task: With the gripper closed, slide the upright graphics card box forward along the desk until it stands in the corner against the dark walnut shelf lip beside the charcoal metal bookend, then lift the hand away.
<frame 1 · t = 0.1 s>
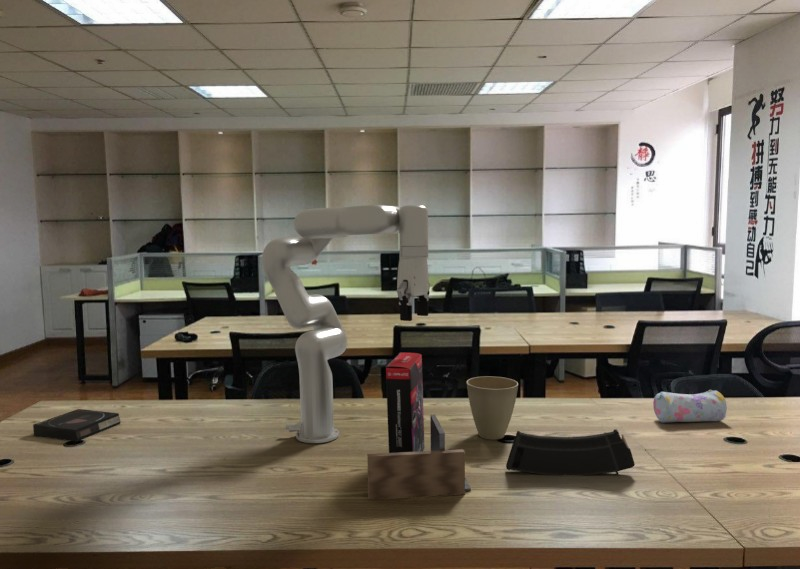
hand: (414, 318, 157), 37 cm above the table, tool pointing down, fingers open, 9 cm apart
shelf lip: (416, 495, 136), on the table
plant pot: (492, 436, 175), on the table
bookend: (437, 480, 144), on the table
magazine: (569, 474, 147), on the table
portable cd player: (78, 432, 185), on the table
pencil case: (689, 421, 186), on the table
graphics card box: (406, 461, 156), on the table
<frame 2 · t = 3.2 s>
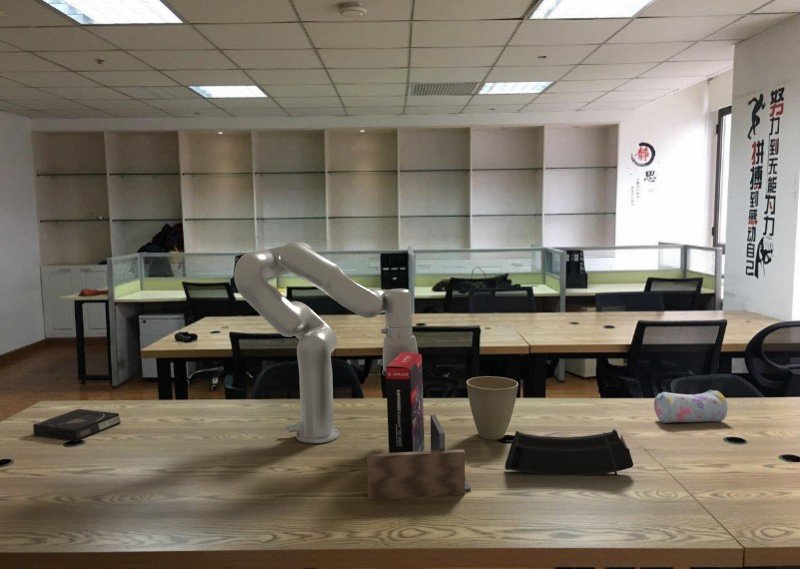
hand: (401, 394, 173), 13 cm above the table, tool pointing down, fingers closed
nothing on the table moved.
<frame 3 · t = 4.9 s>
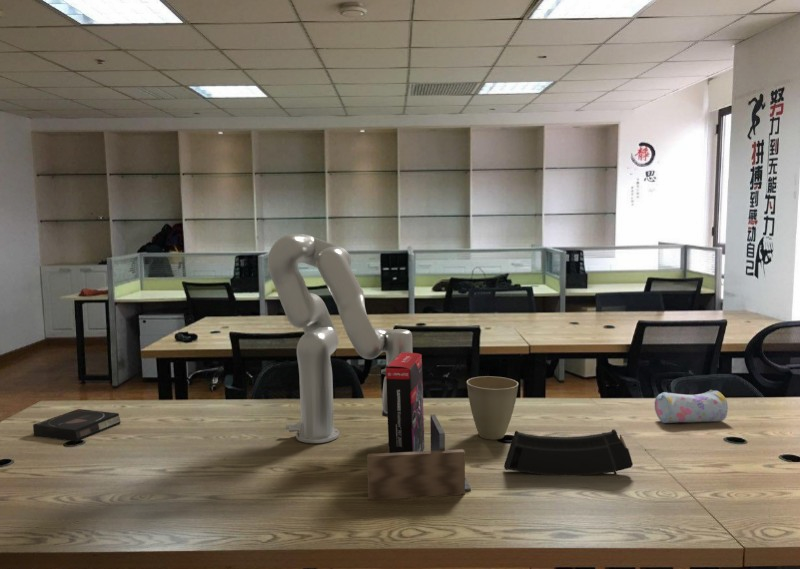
hand: (400, 434, 172), 1 cm above the table, tool pointing down, fingers closed
nothing on the table moved.
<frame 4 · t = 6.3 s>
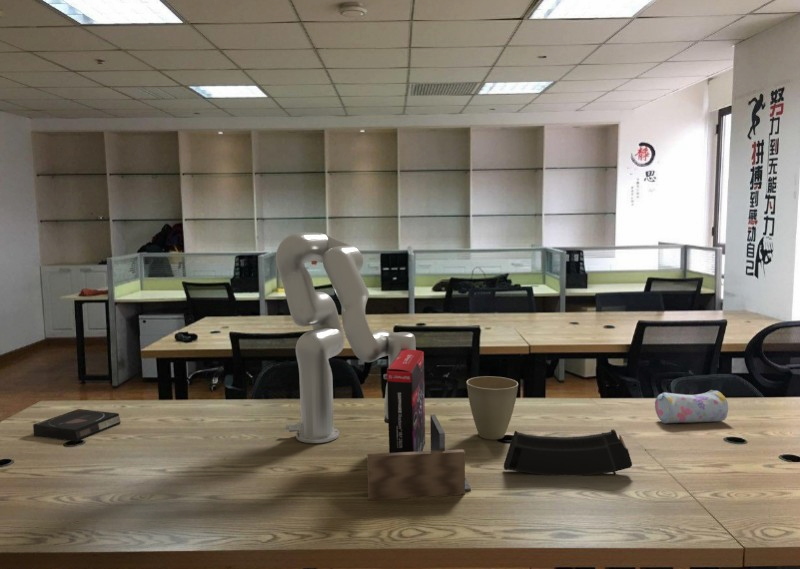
hand: (403, 442, 166), 2 cm above the table, tool pointing down, fingers closed
graphics card box: (407, 459, 156), point 1 cm above the table, touching arm, gripper
everything else where it was.
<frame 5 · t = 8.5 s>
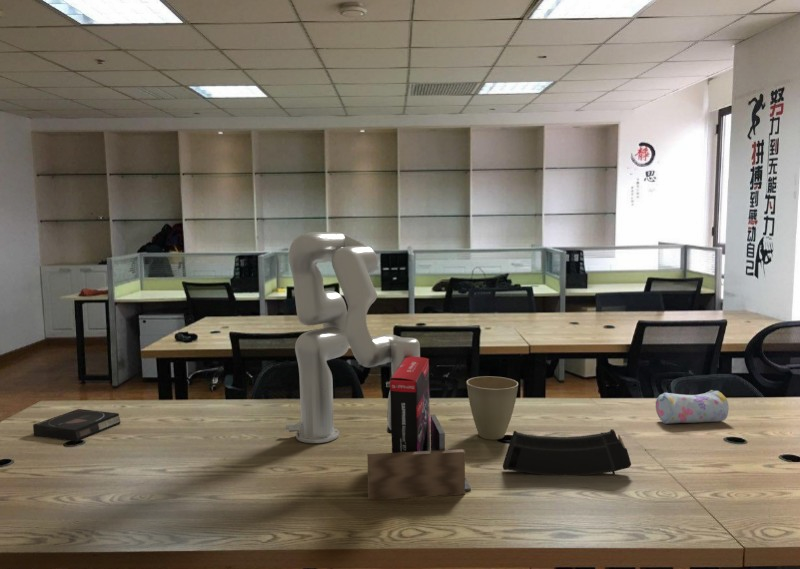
hand: (407, 453, 157), 2 cm above the table, tool pointing down, fingers closed
graphics card box: (411, 472, 147), point 1 cm above the table, touching arm, gripper
everything else where it was.
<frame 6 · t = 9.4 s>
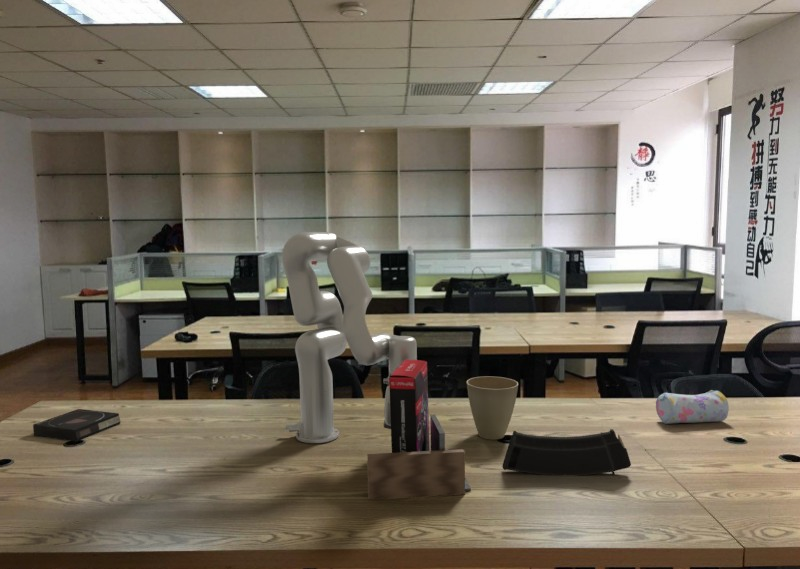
hand: (403, 448, 163), 1 cm above the table, tool pointing down, fingers closed
graphics card box: (411, 476, 147), on the table
everything else where it was.
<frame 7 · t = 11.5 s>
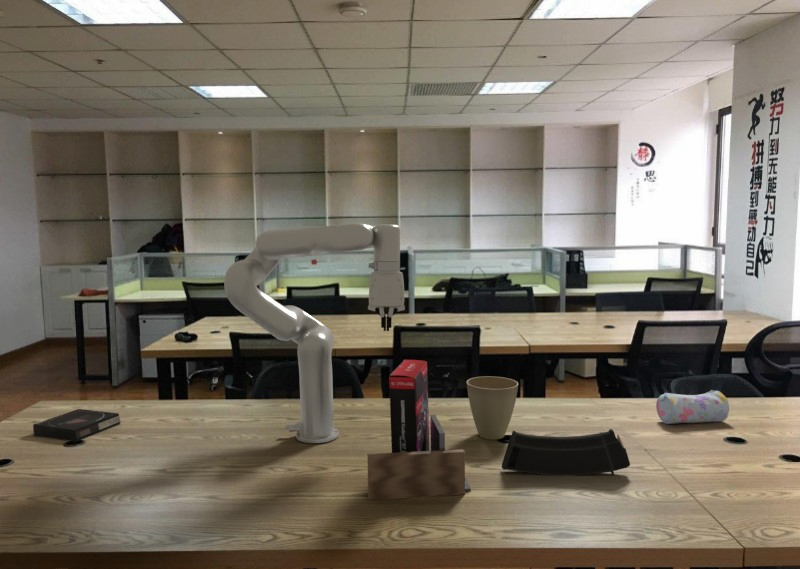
hand: (386, 330, 173), 31 cm above the table, tool pointing down, fingers closed
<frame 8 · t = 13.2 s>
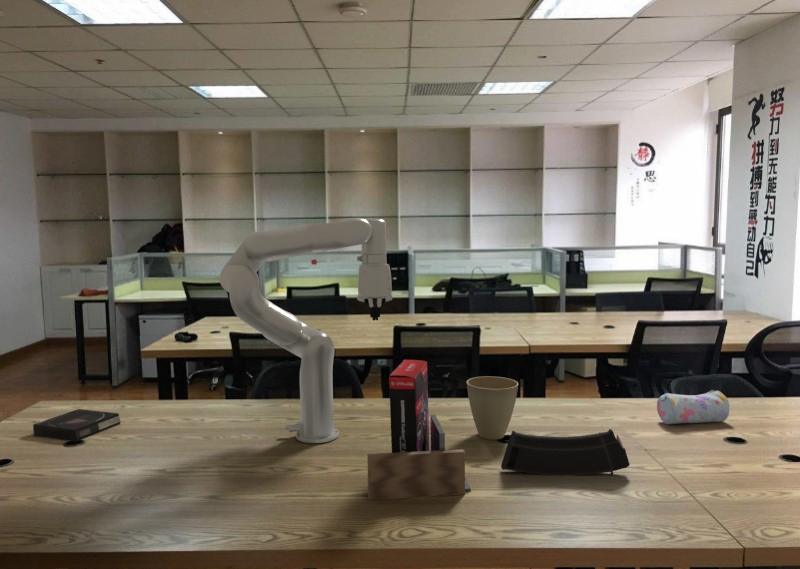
hand: (375, 319, 183), 33 cm above the table, tool pointing down, fingers closed
at the end: graphics card box inside the target area (0.3 cm from its centre), on the table; graphics card box tilted 0°; graphics card box moved 9.2 cm from its start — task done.
